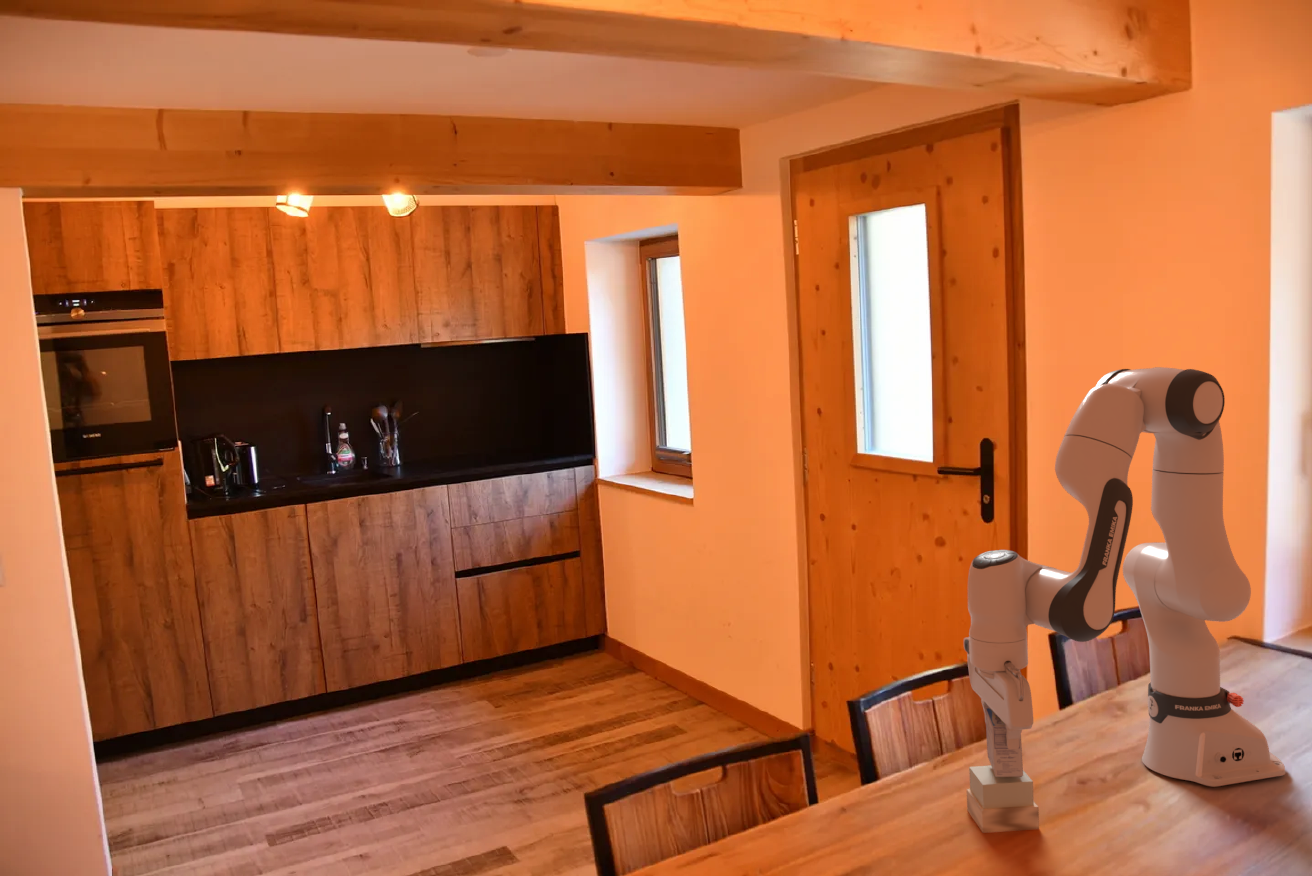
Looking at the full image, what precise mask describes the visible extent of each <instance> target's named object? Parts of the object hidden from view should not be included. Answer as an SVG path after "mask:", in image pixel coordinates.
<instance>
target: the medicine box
mask: <svg viewBox="0 0 1312 876" xmlns="http://www.w3.org/2000/svg"><path fill="white" fill-rule="evenodd" d="M985 727H986V728H985V730H986V731H985V732H986V750H987V751H986V752H987V758H988V760H989V761H988V762H989V763H990V765H991V766H992V768H993V771H994V774H995V776H996V777H1022V776H1023V771H1024V767H1023V766H1024V765H1023V764H1024V763H1023V762H1024V761H1023V749H1022V748H1023V747H1022V734H1021V735H1020V738H1019V748H1018V749H1015V750H1010V749H1008V748H1007V746H1006V745H1005V736H1006V734H1007V729H1006V724H1005V723H1004V722H1003V721H1002V720H1001V719H1000V718H999V717H998V716H997V715H996V714H995V713H994V711H993V710H992V709H991V708H987V709H986V723H985Z"/></svg>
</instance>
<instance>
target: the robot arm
mask: <svg viewBox="0 0 1312 876" xmlns="http://www.w3.org/2000/svg"><path fill="white" fill-rule="evenodd" d="M1224 408H1225V392H1224V390H1223V388H1222V386H1221V384H1220V382H1219V381H1218V379H1217V378H1216V376H1214V375H1212V374H1211V373H1209V372H1206V371H1202V370H1198V369H1195V368H1194V369H1193V368H1188V369H1187V368H1186V369H1182V368H1181V369H1180V368H1175V367H1174V368H1173V367H1162V366H1161V367H1160V366H1157V367H1156V366H1155V367H1151V368H1150V367H1149V368H1136V369H1130V368H1122V369H1116V370H1112V371H1110V372H1108V373H1106V374H1104V375H1103V376H1102V377H1100V379H1099V380H1098V381H1097V383H1096V384H1095V386H1094V387H1091V389H1089V390H1088V392H1087V393H1086V394H1085V396H1084V397H1083V399H1082V400H1081V402H1080V404H1079V406H1078V407H1077V408H1076V410H1075V412H1074V414H1073V416H1072V417H1071V420H1070V422H1069V425H1068V426H1067V429H1066V431H1065V433H1064V436H1063V437H1062V438H1063V439H1062V440H1061V443H1060V446H1059V447H1058V448H1059V449H1058V450H1057V454H1056V458H1055V463H1054V472H1055V475H1056V478H1057V480H1058V482H1059V483H1060V485H1061V487H1062V488H1063V489H1064V490H1065V491H1066V493H1067V494H1069V495H1070V496H1071V497H1073V498H1074V499H1075V500H1076V501H1078V502H1079V503H1080V504H1081V505H1083V508H1084V509H1085V510H1086V513H1087V516H1088V526H1087V530H1086V533H1085V539H1084V542H1083V548H1082V552H1081V556H1080V560H1079V563H1078V566H1077V568H1076V569H1075V570H1074V571H1072V572H1070V571H1065V570H1061V569H1057V567H1052V566H1047V565H1045V564H1040V563H1036V562H1033V561H1030V560H1028V559H1025V558H1024V557H1022V556H1020V555H1019V554H1018V553H1017V552H1016V551H1013V550H1009V549H999V550H998V549H996V550H989V551H985V552H982V553H980V554H979V555H977V556H976V557H974V558H973V559H972V561H971V563H970V566H969V569H968V577H967V609H968V613H969V616H970V627H969V629H968V631H969V632H968V635H969V636H968V637H964V638H963V650H964V651H965V652H966V655H967V667H968V675H969V676H968V678H969V683H970V685H971V688H972V690H973V691H974V693H976V695H978V697H979V698H980V699H981V700H980V702H981V705H982V708H983V713H984V722H985V724H986V709H987V708H991V709H992V710H993V711H994V713H995V714H996V715H997V716H998V717H999V718H1000V719H1001V720H1002V721H1003V722H1004V723H1005V724H1006V729H1007V734H1006V736H1005V745H1006V746H1007V748H1008V749H1010V750H1015V749H1018V748H1019V738H1020V735H1021V736H1022V731H1023V730H1030V729H1032V728H1033V725H1034V710H1033V709H1034V708H1033V699H1032V692H1031V686H1030V684H1029V681H1028V679H1027V678H1025V676H1024V675H1022V672H1021V670H1022V669H1024V668H1026V667H1027V666H1028V664H1029V659H1028V658H1029V656H1028V655H1029V653H1028V652H1029V650H1028V632H1027V627H1028V626H1030V625H1035V626H1037V627H1041V628H1044V629H1047V630H1050V631H1053V632H1056V633H1057V634H1060V635H1062V636H1064V637H1066V638H1068V639H1070V640H1073V641H1075V642H1079V643H1084V642H1089V641H1092V640H1094V639H1096V638H1098V637H1099V636H1101V635H1102V634H1103V633H1104V632H1105V631H1106V630H1107V629H1109V627H1110V625H1111V624H1112V622H1113V619H1114V617H1115V611H1116V595H1117V594H1116V592H1117V584H1118V579H1119V573H1120V570H1121V565H1122V575H1123V578H1124V581H1125V582H1126V584H1127V586H1128V587H1129V588H1130V590H1131V591H1132V593H1133V595H1134V597H1135V600H1136V601H1137V605H1138V608H1139V611H1140V614H1141V619H1142V620H1143V624H1144V627H1145V633H1146V634H1147V636H1146V637H1147V640H1148V641H1147V642H1148V647H1149V669H1150V672H1149V674H1150V676H1149V677H1150V682H1149V683H1148V685H1147V708H1148V709H1147V710H1148V711H1147V712H1148V716H1149V725H1148V730H1147V731H1148V732H1147V739H1146V743H1145V747H1144V751H1143V754H1142V757H1141V761H1142V763H1143V765H1145V766H1146V767H1147V768H1148V769H1150V770H1152V771H1153V772H1155V773H1158V774H1160V775H1164V776H1165V777H1169V778H1174V779H1177V780H1185V781H1191V782H1195V783H1197V784H1201V785H1203V786H1207V787H1214V788H1215V787H1221V786H1222V787H1223V786H1227V785H1234V784H1239V783H1245V782H1251V781H1252V782H1253V781H1256V780H1258V781H1259V780H1263V779H1269V778H1275V777H1280V776H1284V775H1286V768H1285V765H1284V763H1283V761H1282V760H1281V759H1279V758H1278V757H1277V756H1276V755H1275V754H1273V753H1272V752H1270V748H1269V747H1270V746H1269V744H1268V740H1267V739H1266V735H1265V734H1264V732H1263V731H1262V730H1261V729H1259V728H1258V727H1257V726H1256V725H1255V724H1253V723H1252V722H1250V721H1249V719H1247V718H1245V717H1243V715H1241V714H1239V713H1238V711H1235V710H1234V709H1233V708H1232V707H1231V705H1233V706H1234V707H1236V708H1240V707H1242V706H1243V704H1244V702H1245V699H1244V698H1243V697H1242V696H1241V695H1240V694H1238V693H1236V692H1230V691H1229V690H1227V689H1226V688H1224V687H1221V650H1220V646H1219V643H1218V642H1217V639H1216V638H1215V637H1214V636H1213V634H1212V633H1211V631H1210V629H1209V627H1208V625H1207V623H1206V621H1209V622H1219V623H1220V622H1222V623H1223V622H1230V621H1233V620H1236V618H1238V617H1239V616H1241V615H1242V614H1243V612H1245V611H1246V609H1247V607H1248V605H1249V603H1250V601H1251V594H1252V588H1251V584H1250V581H1249V578H1248V576H1247V575H1246V574H1245V573H1244V571H1243V570H1242V569H1241V568H1240V565H1238V563H1237V561H1236V559H1235V557H1234V554H1233V552H1232V547H1231V545H1230V543H1229V538H1228V535H1227V531H1226V527H1225V521H1224V520H1225V519H1224V508H1223V507H1224V474H1225V473H1224V470H1225V464H1224V463H1225V462H1224V461H1225V460H1224V459H1225V458H1224V457H1225V455H1224V454H1225V453H1224V442H1223V435H1222V429H1221V425H1220V424H1221V423H1220V419H1221V417H1222V415H1223V412H1224V410H1225V409H1224ZM1142 433H1146V434H1147V433H1148V434H1153V436H1154V438H1155V442H1154V448H1153V457H1152V470H1151V472H1152V476H1151V502H1150V503H1151V504H1150V505H1151V506H1150V510H1151V514H1152V516H1153V518H1154V520H1155V521H1156V523H1157V524H1158V526H1159V527H1160V530H1161V532H1162V535H1163V539H1164V541H1165V542H1157V541H1156V542H1155V541H1154V542H1144V543H1139V544H1138V545H1135V546H1134V547H1132V548H1131V550H1129V551H1128V553H1126V556H1125V558H1124V561H1123V563H1122V560H1123V556H1124V551H1125V547H1126V543H1127V539H1128V538H1127V537H1128V533H1129V529H1130V525H1131V521H1132V518H1131V517H1132V513H1133V504H1134V503H1133V502H1134V500H1133V497H1134V496H1133V492H1132V490H1131V488H1130V487H1129V485H1128V479H1129V478H1128V477H1129V471H1130V466H1131V463H1132V461H1133V458H1134V455H1135V452H1136V449H1137V446H1138V443H1139V439H1140V436H1141V434H1142Z"/></svg>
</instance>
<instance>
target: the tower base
mask: <svg viewBox="0 0 1312 876" xmlns="http://www.w3.org/2000/svg"><path fill="white" fill-rule="evenodd" d="M966 810H967V812H968V813H969V815H970V816H971V818H972V819H973V821H974V823H975V824H976V825H977V826H978V828H979V829H980V831H981V833H982V834H987V833H1000V832H1001V833H1003V832H1013V831H1016V832H1017V831H1028V830H1029V831H1030V830H1040V818H1039V817H1040V816H1039V815H1040V813H1039V812H1040V809H1039V805H1038V804H1037V803H1036V802H1035V801H1034V805H1033V806H1019V807H1004V808H989V809H983V807H982V806H981V804H980V803H979V802H978V800H977V799H976V797H975V796H974V795H973V793H972V792H971V791H970V788H966Z"/></svg>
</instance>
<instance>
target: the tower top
mask: <svg viewBox="0 0 1312 876" xmlns="http://www.w3.org/2000/svg"><path fill="white" fill-rule="evenodd" d="M968 769H969V770H968V771H969V789H970V791H971V792H972V793H973V795H974V796H975V797H976V799H977V800H978V802H979V803H980V804H981V806H982V807H983V809H989V808H1004V807H1019V806H1033V805H1034V802H1035V801H1034V781H1033V779H1031V778H1030V776H1029V775H1028V774H1027V772H1025V770H1023V776H1022V777H996V776H995V774H994V771H993V768H992V766H991V764H989V765H977V766H969V767H968Z"/></svg>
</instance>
